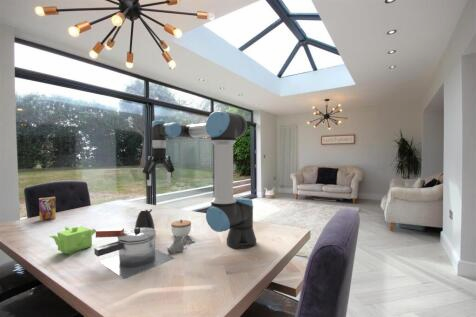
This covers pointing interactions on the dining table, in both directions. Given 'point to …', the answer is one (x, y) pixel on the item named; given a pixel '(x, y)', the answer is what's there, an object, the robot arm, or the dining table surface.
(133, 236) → the lid
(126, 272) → the trivet
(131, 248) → the pot
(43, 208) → the candy box
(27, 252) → the dining table surface
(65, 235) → the kettle
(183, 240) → the goldfish
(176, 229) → the lidded jar
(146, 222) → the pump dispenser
